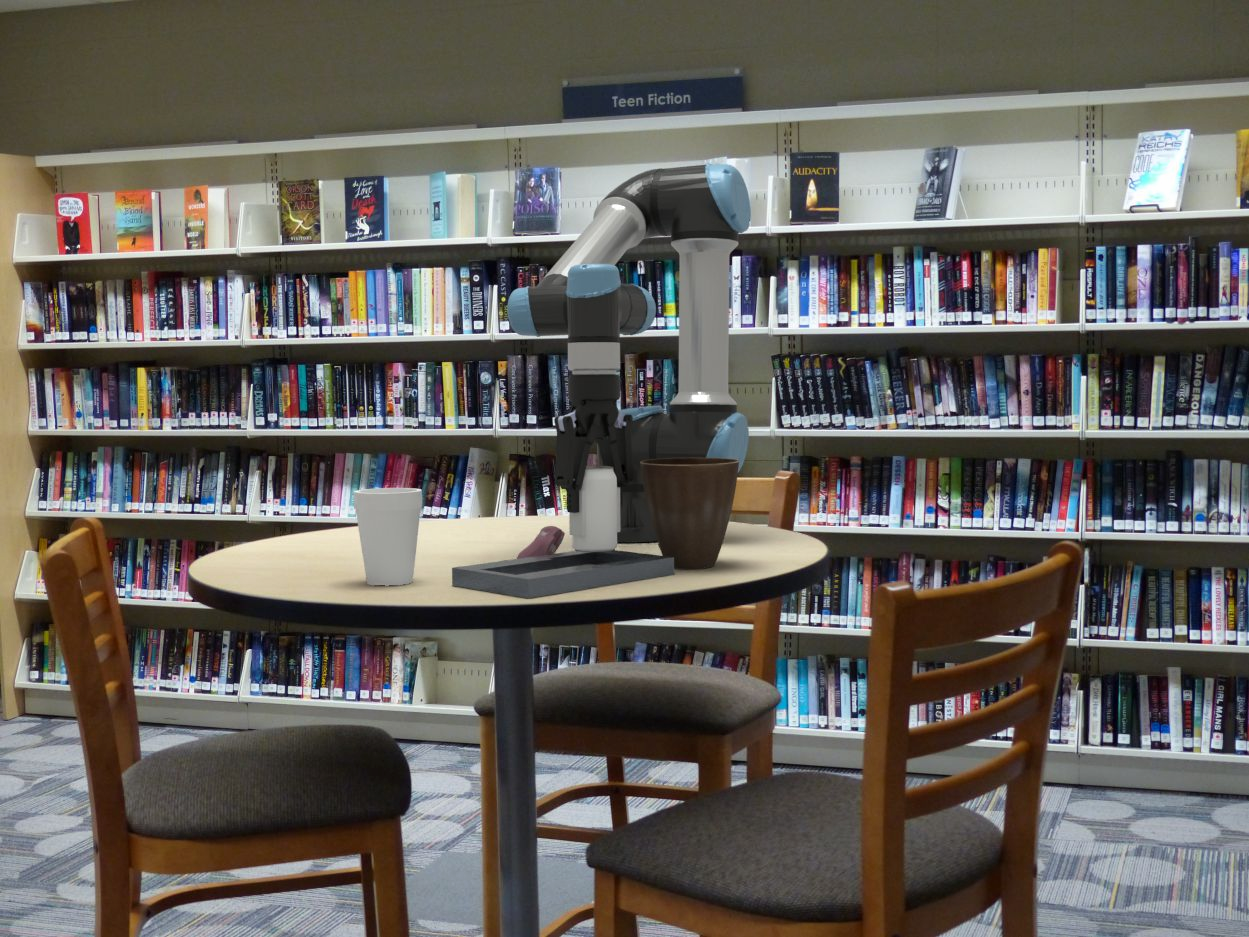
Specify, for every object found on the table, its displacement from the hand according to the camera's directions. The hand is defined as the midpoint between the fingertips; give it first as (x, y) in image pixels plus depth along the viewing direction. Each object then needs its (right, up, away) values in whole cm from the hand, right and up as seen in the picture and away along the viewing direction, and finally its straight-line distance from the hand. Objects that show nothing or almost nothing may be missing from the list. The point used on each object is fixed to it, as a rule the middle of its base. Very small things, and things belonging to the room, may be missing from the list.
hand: (595, 533), depth 191 cm
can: (0, -3, 0) cm, 3 cm away
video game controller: (-9, -6, +14) cm, 17 cm away
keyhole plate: (-4, -6, -4) cm, 9 cm away
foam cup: (-29, -7, -5) cm, 30 cm away
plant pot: (+14, -6, +9) cm, 18 cm away
